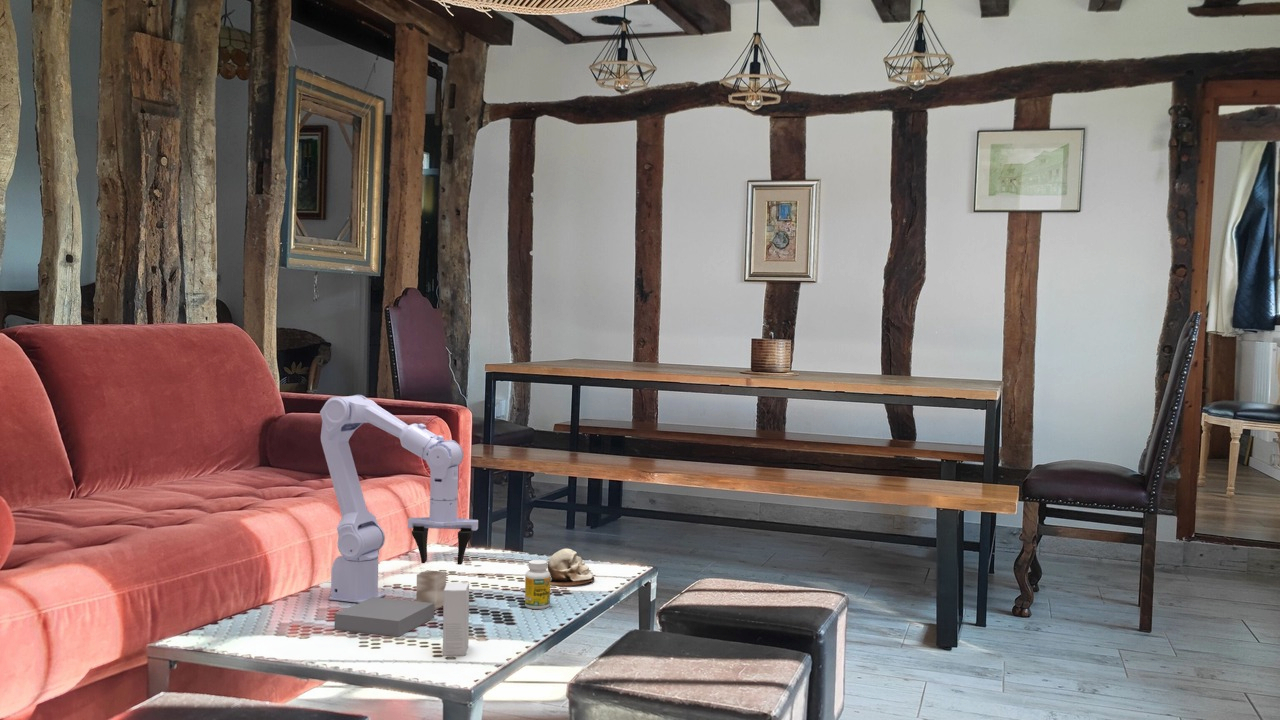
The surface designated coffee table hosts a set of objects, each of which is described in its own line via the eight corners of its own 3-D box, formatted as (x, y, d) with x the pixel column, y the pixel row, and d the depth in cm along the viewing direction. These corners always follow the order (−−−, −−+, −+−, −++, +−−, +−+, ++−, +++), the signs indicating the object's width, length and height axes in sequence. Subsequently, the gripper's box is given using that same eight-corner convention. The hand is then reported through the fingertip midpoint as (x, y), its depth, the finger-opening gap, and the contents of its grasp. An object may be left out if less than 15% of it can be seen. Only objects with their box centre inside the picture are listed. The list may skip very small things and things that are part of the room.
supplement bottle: (542, 601, 223) (543, 557, 222) (554, 607, 218) (555, 562, 218) (520, 605, 220) (521, 560, 219) (531, 610, 215) (532, 565, 215)
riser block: (334, 629, 199) (334, 613, 199) (373, 611, 212) (373, 596, 212) (398, 636, 195) (398, 621, 195) (434, 617, 208) (434, 603, 208)
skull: (600, 571, 248) (595, 546, 241) (591, 608, 241) (586, 583, 234) (553, 566, 250) (546, 541, 243) (542, 602, 243) (535, 577, 236)
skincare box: (445, 645, 190) (446, 581, 189) (468, 645, 190) (469, 581, 190) (441, 656, 184) (443, 589, 183) (465, 656, 184) (467, 589, 184)
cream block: (416, 607, 216) (416, 574, 216) (426, 602, 220) (427, 570, 220) (435, 609, 214) (436, 576, 214) (445, 604, 219) (446, 572, 219)
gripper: (404, 500, 212) (403, 565, 213) (474, 503, 212) (472, 568, 212) (413, 495, 219) (411, 558, 220) (480, 497, 219) (478, 560, 219)
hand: (442, 562), depth 216 cm, fingers open, 7 cm apart
